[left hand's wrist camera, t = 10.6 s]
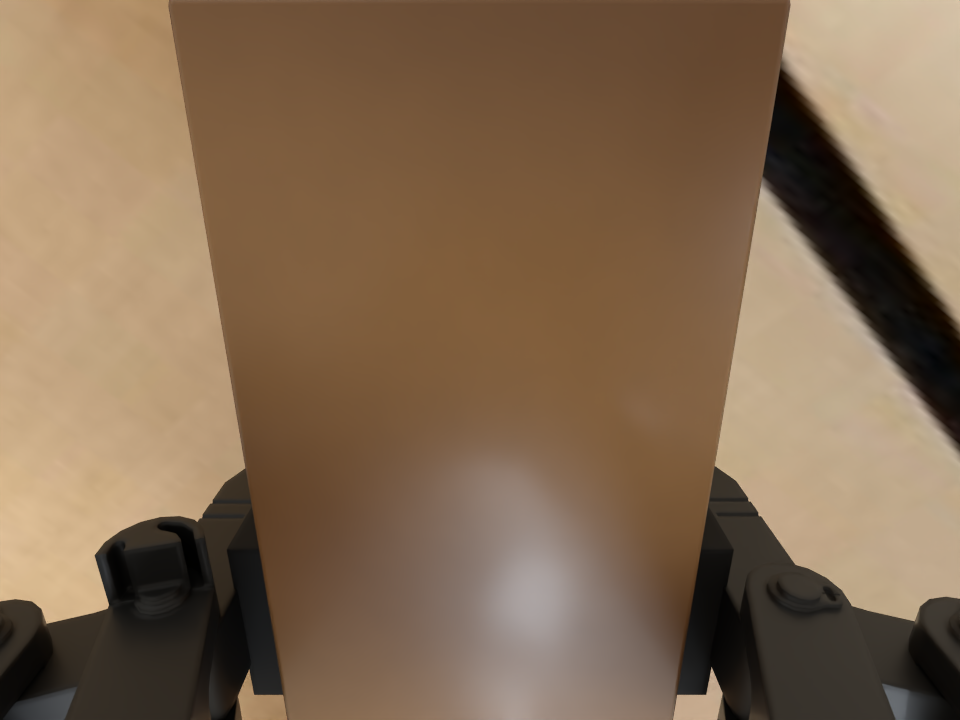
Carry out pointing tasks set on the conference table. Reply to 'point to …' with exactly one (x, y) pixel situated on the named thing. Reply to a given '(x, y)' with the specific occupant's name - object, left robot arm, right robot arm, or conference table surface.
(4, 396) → the conference table surface
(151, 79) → the conference table surface
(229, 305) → the beam
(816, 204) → the conference table surface
